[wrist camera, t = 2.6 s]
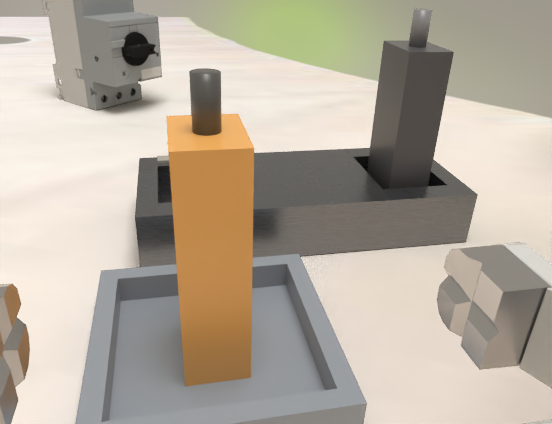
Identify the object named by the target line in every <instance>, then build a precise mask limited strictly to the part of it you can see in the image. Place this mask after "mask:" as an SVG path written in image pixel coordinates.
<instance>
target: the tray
mask: <svg viewBox="0 0 552 424" xmlns="http://www.w3.org/2000/svg"><path fill="white" fill-rule="evenodd" d="M366 405H367V403H366V400H365V398H364V396H363V394H362V392H361V389H360V387H359V385H358V383H357V381H356V378H355V376H354V374H353V372H352V370H351V367H350V365H349V363H348V361H347V359H346V356H345V354H344V352H343V350H342V348H341V345H340V343H339V341H338V339H337V337H336V334H335V332H334V330H333V328H332V326H331V323H330V321H329V319H328V317H327V315H326V312H325V310H324V308H323V306H322V304H321V301H320V299H319V297H318V295H317V293H316V290H315V288H314V286H313V284H312V282H311V279H310V277H309V275H308V273H307V271H306V268H305V266H304V264H303V262H302V260H301V257H300V255H299V254H290V255H278V256H266V257H255V258H253V267H252V340H251V378H245V379H237V380H230V381H222V382H215V383H207V384H200V385H192V386H185V377H184V363H183V349H182V335H181V321H180V307H179V293H178V279H177V265H176V264H173V265H161V266H150V267H138V268H126V269H115V270H103V271H101V275H100V281H99V287H98V292H97V298H96V304H95V310H94V316H93V322H92V328H91V334H90V340H89V346H88V352H87V358H86V364H85V370H84V376H83V382H82V388H81V394H80V400H79V406H78V412H77V418H76V424H363V423H364V417H365V411H366Z"/></svg>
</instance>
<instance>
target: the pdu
mask: <svg viewBox="0 0 552 424" xmlns="http://www.w3.org/2000/svg"><path fill="white" fill-rule="evenodd" d="M369 153H370V148H360V149H337V150H315V151H293V152H270V153H254V194H253V258H255V257H266V256H278V255H290V254H299V255H300V256H307V255H319V254H330V253H342V252H354V251H365V250H377V249H388V248H400V247H411V246H423V245H434V244H446V243H457V242H466V239H467V235H468V231H469V227H470V223H471V219H472V215H473V211H474V207H475V203H476V199H477V194H476V193H475V192H474V191H472V190H471V189H470V188H469V187H467V186H466V185H465V184H464V183H462V182H461V181H460V180H459V179H457V178H456V177H455V176H453V175H452V174H451V173H450V172H448V171H447V170H446V169H445V168H443V167H442V166H441V165H440V164H438V163H437V162H436V161H435V160H433V162H432V168H431V173H430V178H429V183H428V186H426V187H410V188H394V189H382V188H381V187H380V186H379V185H378V184H377V183H376V182H375V180H374V179H373V178H372V177H371V176H370V175H369V174H368V173H367V169H368V161H369ZM135 221H136V230H137V239H138V248H139V257H140V266H141V267H150V266H161V265H173V264H176V250H175V236H174V222H173V208H172V194H171V180H170V166H169V156H157V158H140V161H139V174H138V186H137V199H136V212H135Z"/></svg>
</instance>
